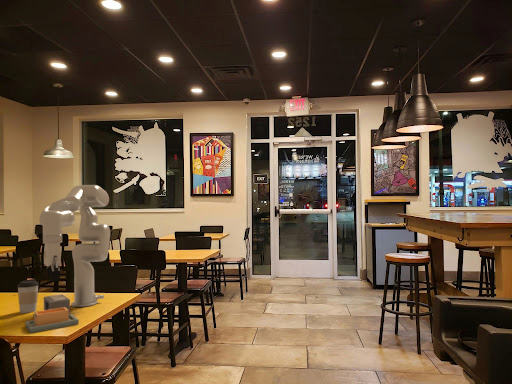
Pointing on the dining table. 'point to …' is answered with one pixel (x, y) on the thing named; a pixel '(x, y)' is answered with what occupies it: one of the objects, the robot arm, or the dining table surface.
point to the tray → (51, 325)
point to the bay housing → (56, 302)
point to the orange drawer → (51, 316)
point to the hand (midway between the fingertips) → (53, 278)
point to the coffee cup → (28, 295)
